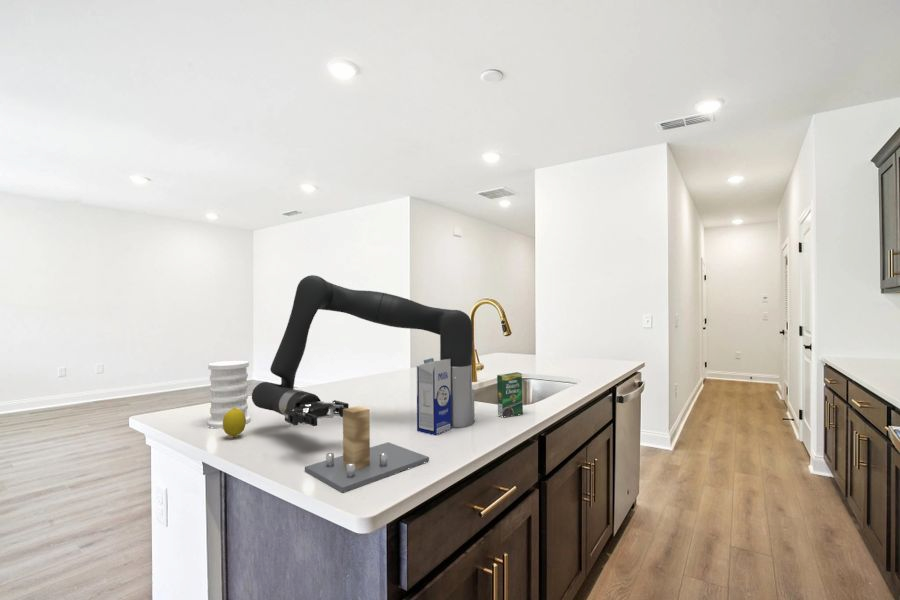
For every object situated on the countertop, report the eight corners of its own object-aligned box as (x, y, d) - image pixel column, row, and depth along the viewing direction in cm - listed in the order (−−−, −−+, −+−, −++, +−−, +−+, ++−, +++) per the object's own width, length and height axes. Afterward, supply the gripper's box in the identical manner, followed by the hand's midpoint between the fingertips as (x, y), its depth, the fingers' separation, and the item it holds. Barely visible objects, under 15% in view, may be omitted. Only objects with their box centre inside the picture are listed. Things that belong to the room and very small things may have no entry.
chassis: (388, 446, 108) (388, 432, 108) (429, 461, 97) (429, 445, 97) (304, 471, 92) (304, 454, 92) (342, 492, 81) (342, 474, 81)
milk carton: (435, 435, 116) (434, 360, 116) (416, 431, 120) (416, 358, 120) (451, 429, 122) (450, 357, 122) (432, 425, 126) (432, 356, 126)
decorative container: (228, 430, 122) (228, 366, 122) (197, 426, 126) (197, 364, 126) (259, 419, 133) (258, 361, 133) (229, 416, 137) (229, 359, 137)
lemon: (240, 433, 119) (239, 404, 120) (249, 437, 116) (249, 407, 116) (219, 438, 115) (218, 408, 115) (228, 442, 112) (228, 411, 112)
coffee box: (502, 418, 133) (501, 375, 133) (496, 416, 135) (496, 374, 135) (523, 414, 136) (523, 373, 136) (517, 412, 139) (517, 371, 139)
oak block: (359, 460, 95) (358, 405, 95) (369, 465, 92) (369, 409, 92) (343, 465, 92) (342, 409, 92) (353, 470, 90) (353, 412, 90)
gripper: (272, 395, 105) (303, 406, 94) (325, 387, 116) (359, 396, 104) (272, 426, 105) (303, 441, 94) (325, 415, 116) (359, 427, 104)
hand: (333, 417), depth 99 cm, fingers open, 8 cm apart
